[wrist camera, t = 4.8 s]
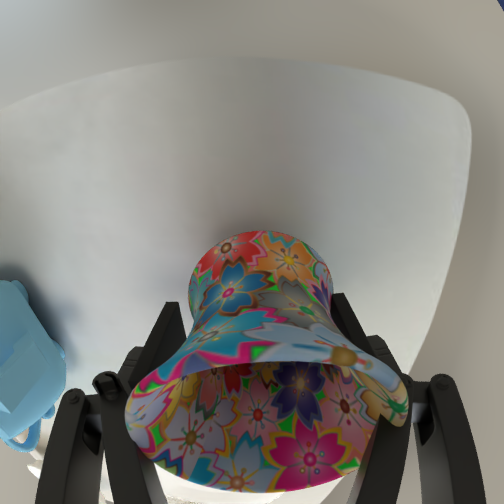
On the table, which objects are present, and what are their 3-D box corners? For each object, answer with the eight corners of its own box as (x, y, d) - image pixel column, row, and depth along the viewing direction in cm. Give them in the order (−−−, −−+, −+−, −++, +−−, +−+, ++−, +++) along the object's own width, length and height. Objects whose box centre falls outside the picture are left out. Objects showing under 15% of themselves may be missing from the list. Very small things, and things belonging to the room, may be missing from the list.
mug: (263, 183, 15) (288, 266, 5) (362, 292, 17) (440, 422, 7) (134, 313, 18) (65, 439, 8) (232, 386, 20) (224, 511, 10)
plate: (308, 448, 29) (310, 460, 27) (272, 499, 37) (273, 508, 35) (124, 426, 27) (120, 438, 26) (149, 485, 36) (147, 493, 34)
